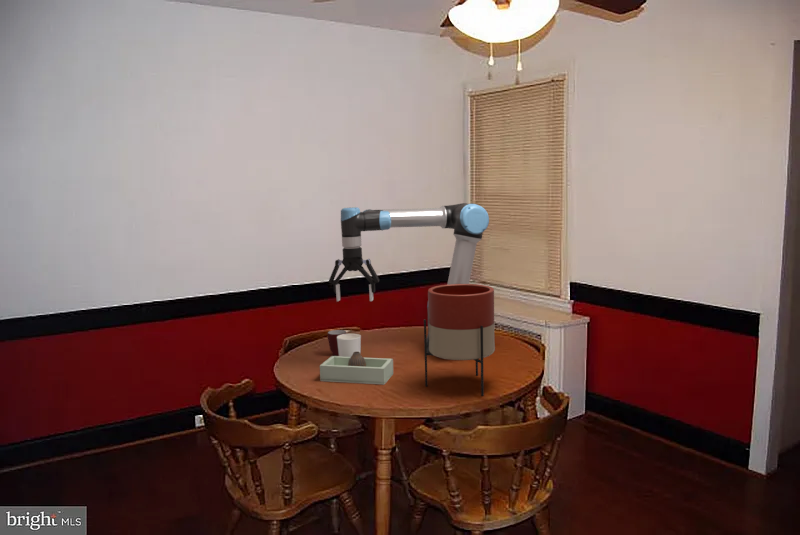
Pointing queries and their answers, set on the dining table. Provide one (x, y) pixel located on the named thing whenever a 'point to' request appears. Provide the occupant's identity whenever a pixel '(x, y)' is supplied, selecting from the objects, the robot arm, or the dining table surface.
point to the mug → (334, 340)
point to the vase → (357, 360)
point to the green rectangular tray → (356, 370)
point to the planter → (460, 324)
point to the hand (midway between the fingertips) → (355, 300)
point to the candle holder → (348, 344)
